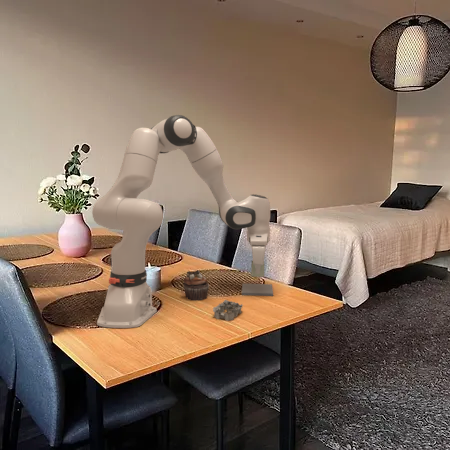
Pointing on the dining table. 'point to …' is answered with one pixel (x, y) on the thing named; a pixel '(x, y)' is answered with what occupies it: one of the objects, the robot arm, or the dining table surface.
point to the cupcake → (195, 286)
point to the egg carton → (231, 308)
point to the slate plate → (257, 289)
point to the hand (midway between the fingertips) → (257, 270)
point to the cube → (260, 270)
